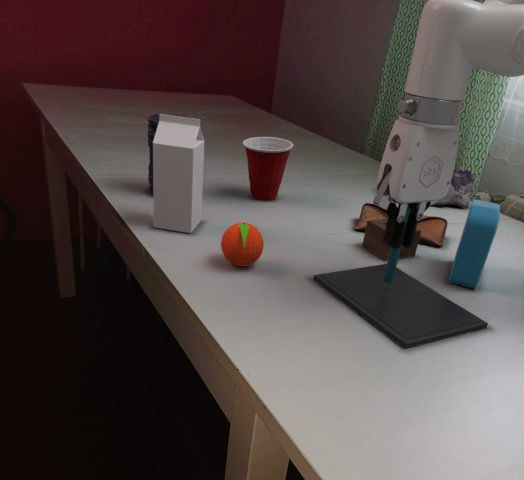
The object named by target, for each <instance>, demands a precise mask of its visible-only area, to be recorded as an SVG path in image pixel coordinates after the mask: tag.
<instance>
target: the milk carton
mask: <svg viewBox="0 0 524 480" xmlns="http://www.w3.org/2000/svg"><path fill="white" fill-rule="evenodd" d="M172 115H173V114H169V115H165V113H159V124H158V127H157V130H156V134H155V137H154V140H153V195H152V197H153V199H152V200H153V227H154V228H156V229H161V230H162V229H163V230H168V231H173V232H174V231H175V232H180V233H186V234H187V233H188V234H192V232H193V231H194V230H195V229H196V228H197V226H198V225H199V224H200V223H201V222H202V215H203V212H202V211H203V187H204V186H203V185H204V161H205V142H206V141H205V137H204V134H203V131H202V128H201V119H200V118H194V117H189V118H187V117H188V116H185V117H180V116H181V115H179V116H172Z"/></svg>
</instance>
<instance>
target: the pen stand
mask: <svg viewBox="0 0 524 480" xmlns="http://www.w3.org/2000/svg"><path fill="white" fill-rule="evenodd" d="M387 221H388V218H387V219H377V220H368V221H367V225H366V230H365V231H364V235H363V240H362V243H361V244H362V245H361V247H363V248H365V249H367V250H368V251H370V252H372V254H375V256H378V257H379V258H381V259H383V260H385V261H387V260H388V256H389V252H390V248H391V246H389V245H387V244H386V243H384V242H383V238H384V234H385V229H386V225H387ZM420 235H421V230H419V229H418V228H416V231H415V234H414V238H413V242H412V246H411V247H405V246H404V245H402V246H401V250H400V254H399V258H398V260H399V259H404V258H406V259H407V258H413V257H415V256H416V252H417V249H418V245H419V243H418V242H419V238H420Z"/></svg>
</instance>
